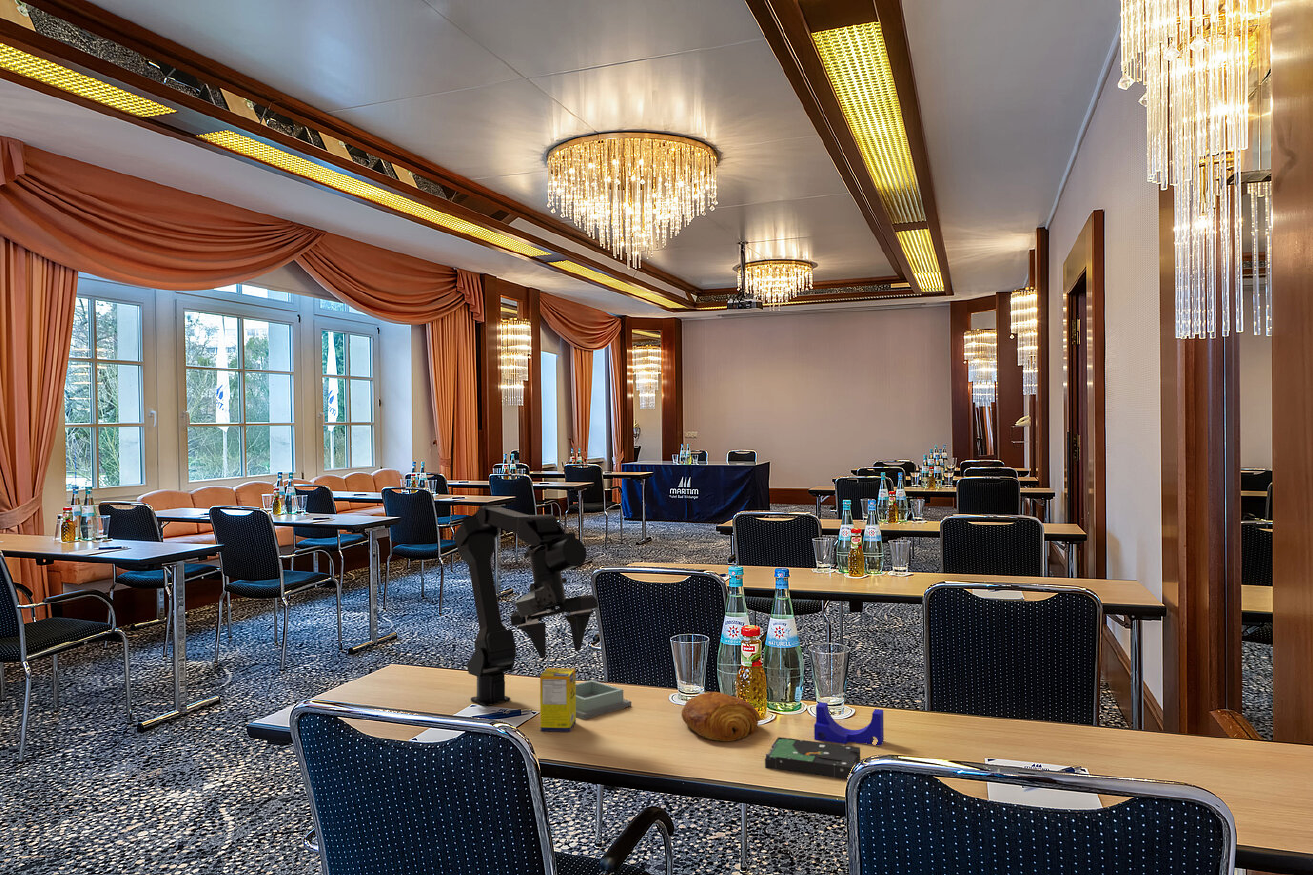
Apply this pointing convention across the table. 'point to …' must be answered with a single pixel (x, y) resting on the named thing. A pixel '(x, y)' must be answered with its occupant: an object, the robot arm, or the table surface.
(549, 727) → the supplement box
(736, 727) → the croissant
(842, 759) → the disk drive
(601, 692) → the socket holder
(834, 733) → the blue u-shaped cradle
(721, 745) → the table surface
